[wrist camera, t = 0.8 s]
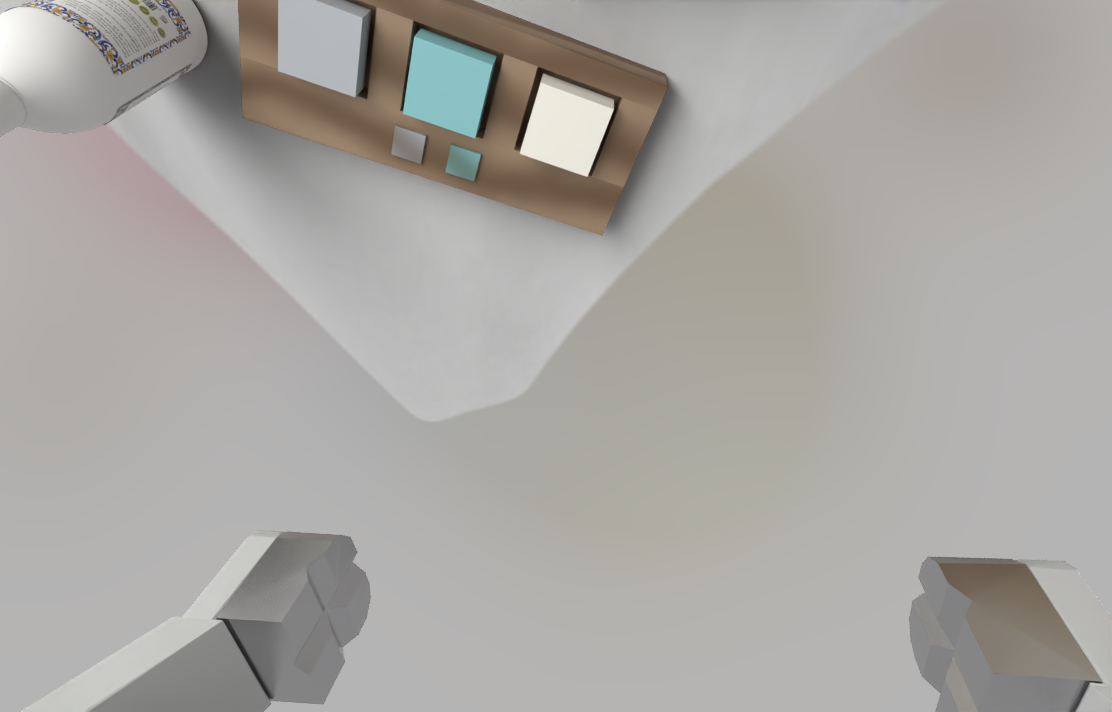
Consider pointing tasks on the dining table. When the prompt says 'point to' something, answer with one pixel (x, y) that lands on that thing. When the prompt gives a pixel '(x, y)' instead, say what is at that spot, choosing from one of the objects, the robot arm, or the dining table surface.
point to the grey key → (324, 42)
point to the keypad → (494, 154)
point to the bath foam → (91, 59)
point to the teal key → (448, 83)
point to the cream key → (566, 125)
